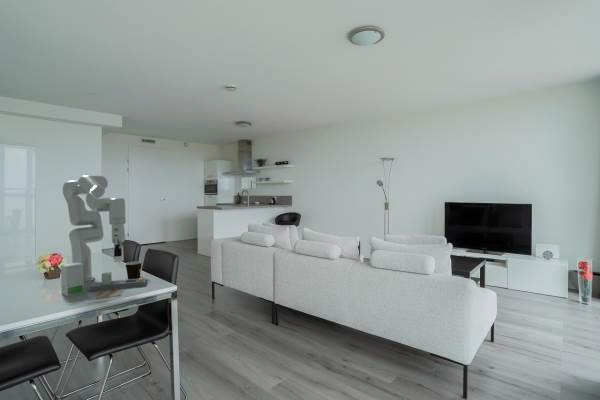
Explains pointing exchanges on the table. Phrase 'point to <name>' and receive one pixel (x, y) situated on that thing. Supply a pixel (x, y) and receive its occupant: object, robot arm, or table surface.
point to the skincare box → (72, 279)
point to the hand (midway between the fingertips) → (118, 255)
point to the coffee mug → (133, 270)
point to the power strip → (118, 284)
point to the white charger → (119, 258)
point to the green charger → (106, 278)
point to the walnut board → (109, 293)
